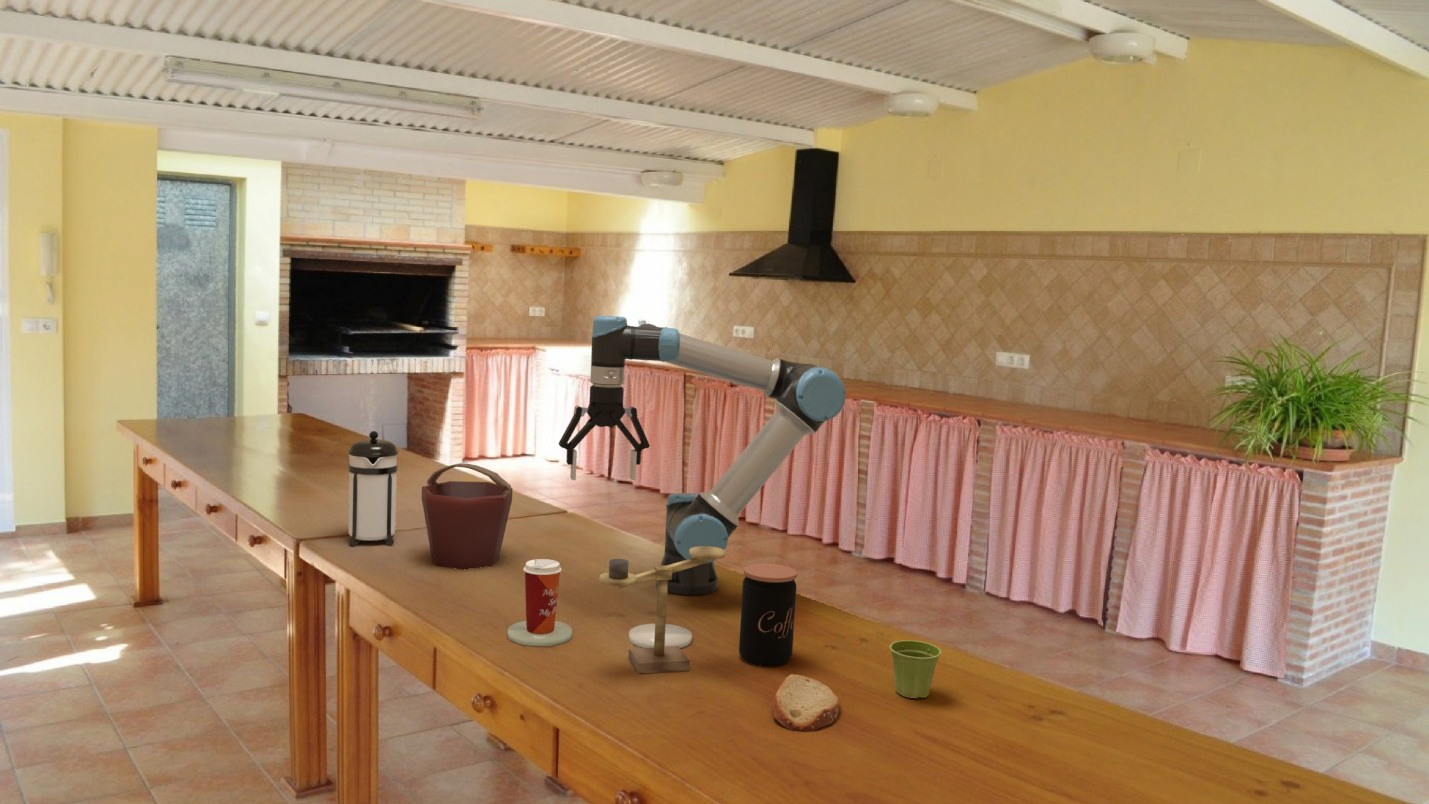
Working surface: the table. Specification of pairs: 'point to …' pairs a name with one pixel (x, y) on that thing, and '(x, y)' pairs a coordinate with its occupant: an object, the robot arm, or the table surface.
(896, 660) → the plant pot
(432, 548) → the bucket
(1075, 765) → the table surface
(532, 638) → the sage dish
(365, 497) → the coffee press
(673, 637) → the white dish
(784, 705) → the bread slice
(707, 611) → the table surface
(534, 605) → the paper cup
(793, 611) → the coffee jar
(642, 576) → the balance
